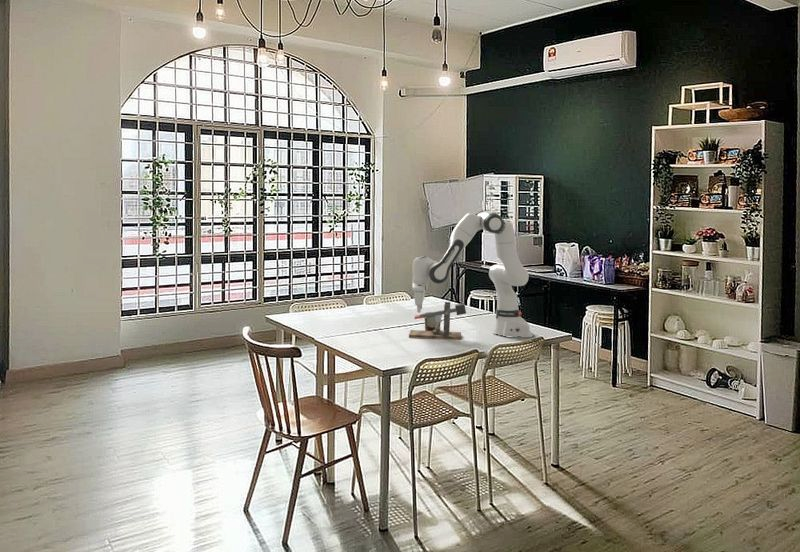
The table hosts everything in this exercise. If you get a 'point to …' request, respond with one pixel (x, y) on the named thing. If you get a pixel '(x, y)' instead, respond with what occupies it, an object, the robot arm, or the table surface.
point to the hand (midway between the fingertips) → (419, 310)
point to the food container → (430, 323)
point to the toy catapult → (438, 329)
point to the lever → (458, 309)
